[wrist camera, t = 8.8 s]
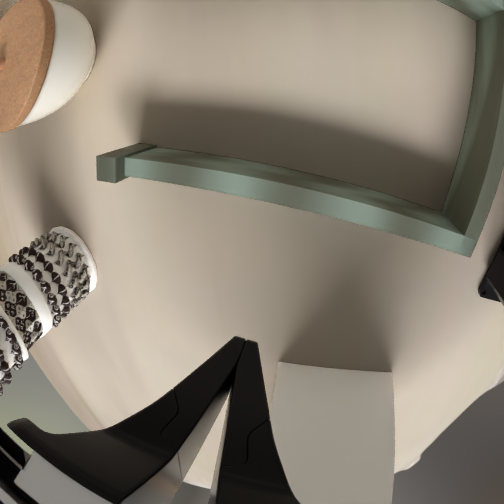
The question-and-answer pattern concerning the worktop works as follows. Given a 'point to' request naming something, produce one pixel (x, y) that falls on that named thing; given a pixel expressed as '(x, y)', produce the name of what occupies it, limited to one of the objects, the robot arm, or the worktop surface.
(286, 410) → the milk
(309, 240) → the worktop surface
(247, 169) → the green shallow rectangular frame
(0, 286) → the decorative candle
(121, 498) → the robot arm
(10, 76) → the lidded jar
